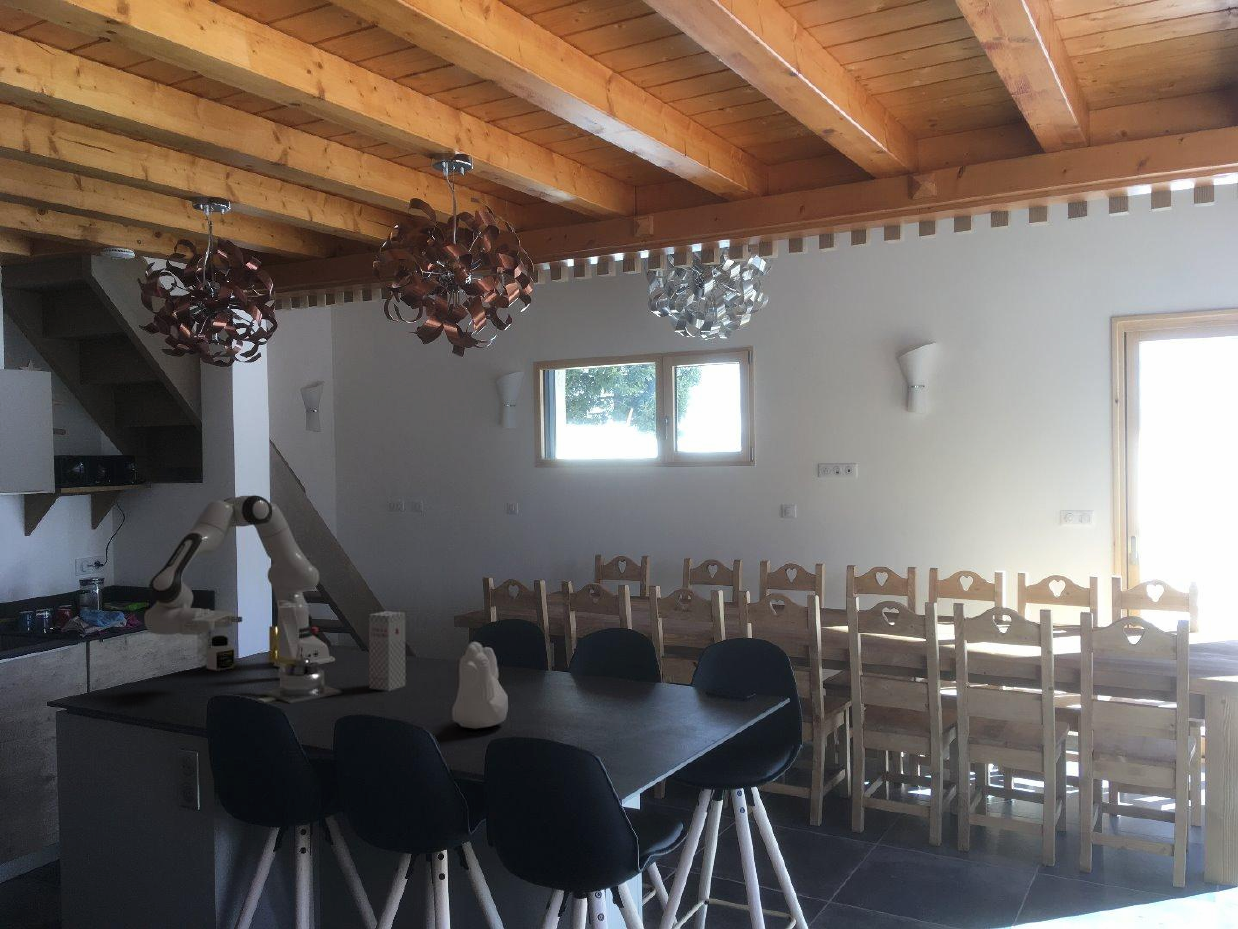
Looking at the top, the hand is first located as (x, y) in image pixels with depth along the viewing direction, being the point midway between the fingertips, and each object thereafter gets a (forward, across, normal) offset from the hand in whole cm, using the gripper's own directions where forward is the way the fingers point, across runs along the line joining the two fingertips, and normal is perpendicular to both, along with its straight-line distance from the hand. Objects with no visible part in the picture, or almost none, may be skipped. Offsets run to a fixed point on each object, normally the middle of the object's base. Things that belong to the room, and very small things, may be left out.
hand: (236, 621), depth 329 cm
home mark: (+15, -13, +23) cm, 30 cm away
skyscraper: (+11, +20, +23) cm, 33 cm away
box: (+50, +5, +23) cm, 55 cm away
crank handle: (+20, -3, +16) cm, 25 cm away
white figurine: (+89, -44, +23) cm, 102 cm away
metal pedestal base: (+24, -4, +23) cm, 33 cm away
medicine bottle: (-20, +38, +23) cm, 49 cm away
